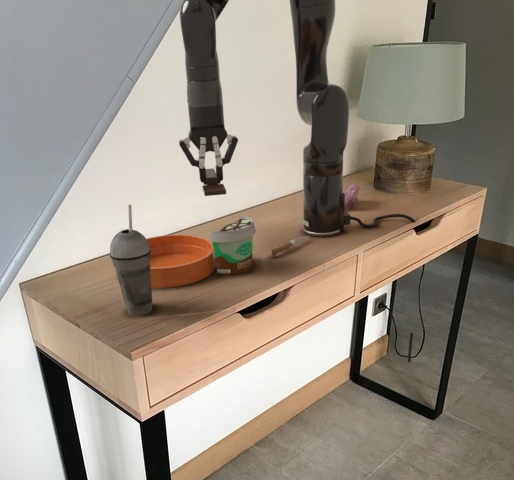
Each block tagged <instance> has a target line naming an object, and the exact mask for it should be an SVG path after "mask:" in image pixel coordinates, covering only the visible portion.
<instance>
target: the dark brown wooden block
mask: <svg viewBox="0 0 514 480" xmlns="http://www.w3.org/2000/svg"><path fill="white" fill-rule="evenodd" d="M205 169H206V182H207V185H204V184H203V185H202V186H201V187H202V193H203V196H204V197H210V196H211V197H213V196H223V195H227V189H226V187H225V185H224V183H221V184H218V176H217V174H216V169H215V168H214V167H213V168H205Z"/></svg>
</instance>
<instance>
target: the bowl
mask: <svg viewBox="0 0 514 480" xmlns="http://www.w3.org/2000/svg"><path fill="white" fill-rule="evenodd" d="M146 239H147V241H148V243H149V247H150V249H151V262H150V272H151V288H152V289H167V288H175V287H180V286H181V287H182V286H186V285H191V284H193V283H196V282H199V281H201V280H204V279H205V278H207V277H209V276H210V275H211V274H212V273H214V272H215V271H216V263H215V256H214V250H213V243H212V242H210V239H207V238H205V237H202V236H198V235H194V234H165V235H158V236H152V237H146Z"/></svg>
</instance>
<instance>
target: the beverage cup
mask: <svg viewBox="0 0 514 480" xmlns="http://www.w3.org/2000/svg"><path fill="white" fill-rule="evenodd" d="M127 209H128V210H127V211H128V212H127V213H128V228H127V229H123V230H120V231H119V232H117V233H115V235H114V236H113V237H112V240H111V241H110V246H109V257H110V259H111V262H112V264H113V267H114V268H115V272H116V275H117V280H118V283H119V287H120V290H121V294H122V297H123V301H124V305H125V307H126V310H127V313H128V314H129V315H131V316H144V315H146V314H149V313H151V312H152V311H153V293H152V292H153V290H152V289H153V288H151V272H150V262H151V249H150V247H149V243H148V241H147V237H145V235H144V234H143V233H142V232H140V231H139V230H136V229H133V215H132V214H133V213H132V212H133V211H132V204H128V205H127Z"/></svg>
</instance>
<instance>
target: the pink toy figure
mask: <svg viewBox="0 0 514 480" xmlns="http://www.w3.org/2000/svg"><path fill="white" fill-rule="evenodd" d="M359 190H360V186H359V185H358V184H355V183H351V184H350V185H349V186H348V187H347V189H346V190H344V191H343V192H344V193H345V210H347V209H351V208H352V206H353V205H354V203H356V202H359V199H360V198H359V197H358V196H359Z"/></svg>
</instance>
